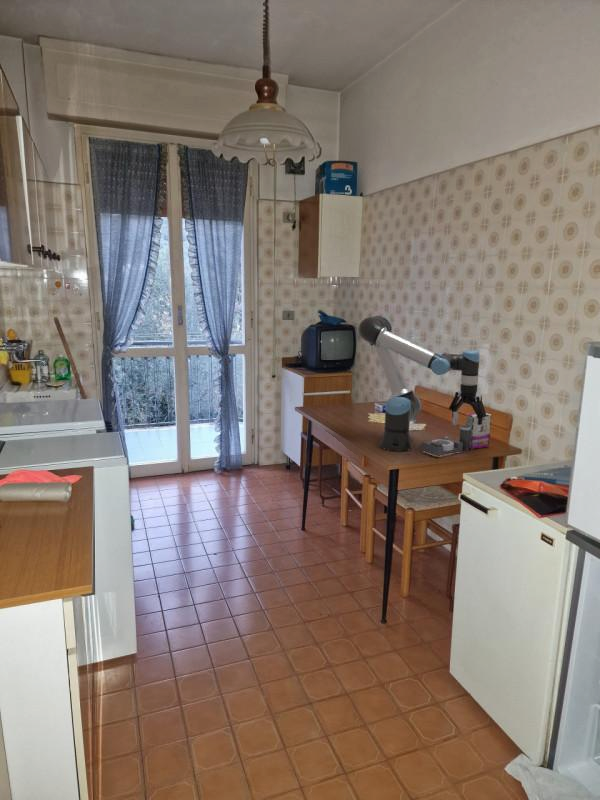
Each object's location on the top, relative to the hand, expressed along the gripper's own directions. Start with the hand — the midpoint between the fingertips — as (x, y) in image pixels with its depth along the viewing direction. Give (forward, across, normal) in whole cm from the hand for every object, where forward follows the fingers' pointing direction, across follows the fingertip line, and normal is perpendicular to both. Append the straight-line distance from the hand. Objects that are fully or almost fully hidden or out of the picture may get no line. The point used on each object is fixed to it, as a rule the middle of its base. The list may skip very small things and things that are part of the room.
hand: (466, 427), depth 256 cm
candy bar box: (+11, 0, -8) cm, 13 cm away
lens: (+11, 0, 0) cm, 11 cm away
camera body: (+10, +2, +13) cm, 17 cm away
